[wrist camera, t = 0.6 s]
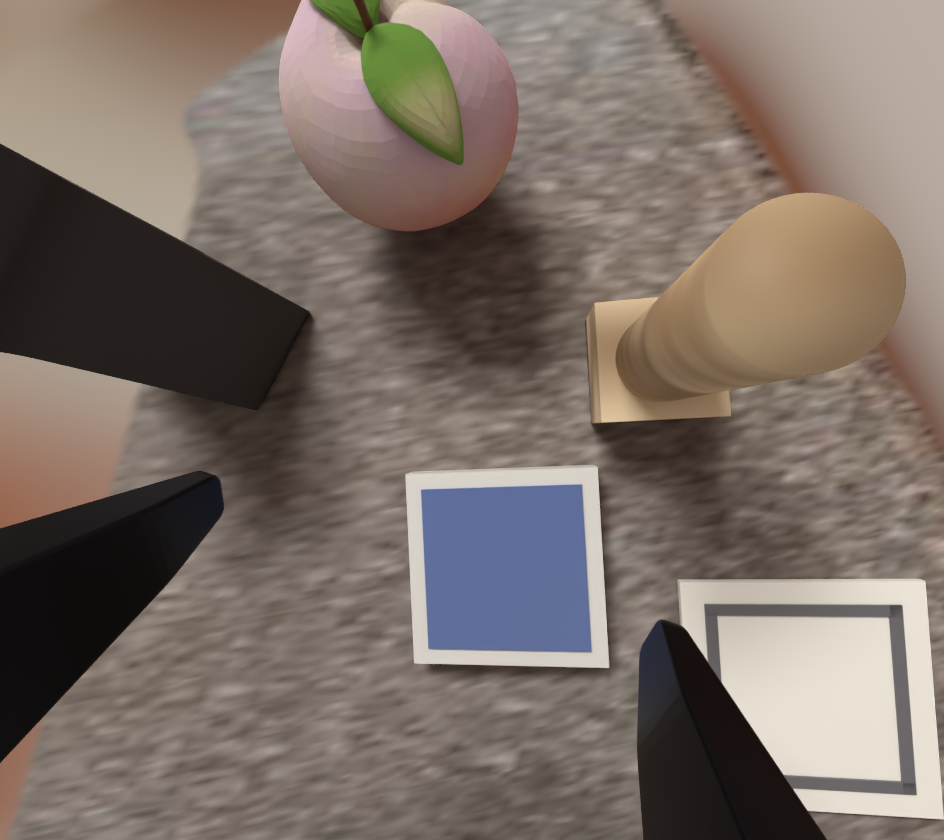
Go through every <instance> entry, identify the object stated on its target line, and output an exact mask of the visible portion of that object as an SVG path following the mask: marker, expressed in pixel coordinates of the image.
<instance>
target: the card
mask: <svg viewBox="0 0 944 840" xmlns="http://www.w3.org/2000/svg"><path fill="white" fill-rule="evenodd" d="M677 582H678V598H679V614H680V625H681V626H683V627H684V628H685V629H686V630H687V631H688V633H689V634H690V636H691V637H692V639H693V640H694V642H695V643H696V645H697V646H698V648H699V649H700V651H701V652H702V654H703V655H704V657H705V658H706V660H707V661H708V663H709V664H710V666H711V667H712V669H713V670H714V672H715V673H716V675H717V676H718V678H719V679H720V681H721V682H722V684H723V685H724V687H725V688H726V690H727V691H728V692H729V694H730V695H731V697H732V698H733V700H734V701H735V703H736V704H737V706H738V707H739V709H740V710H741V712H742V713H743V715H744V716H745V718H746V719H747V721H748V722H749V724H750V725H751V727H752V728H753V730H754V731H755V733H756V734H757V736H758V737H759V739H760V740H761V742H762V743H763V745H764V746H765V748H766V749H767V751H768V752H769V754H770V755H771V757H772V758H773V760H774V761H775V763H776V764H777V766H778V767H779V769H780V770H781V772H782V773H783V775H784V776H785V778H786V779H787V781H788V782H789V784H790V785H791V787H792V788H793V790H794V791H795V793H796V794H797V796H798V797H799V799H800V800H801V802H802V803H803V804H804V806H805V807H806V809H807V810H808V811H818V812H834V813H850V814H866V815H882V816H898V817H913V818H929V819H944V816H943V803H942V791H941V778H940V765H939V752H938V739H937V726H936V713H935V700H934V687H933V675H932V662H931V649H930V636H929V623H928V610H927V597H926V584H925V581H923V580H921V579H683V580H677Z"/></svg>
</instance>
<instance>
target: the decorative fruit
mask: <svg viewBox="0 0 944 840" xmlns="http://www.w3.org/2000/svg"><path fill="white" fill-rule="evenodd" d="M279 90H280V100H281V106H282V112H283V116H284V119H285V123H286V127H287V130H288V133H289V136H290V138H291V141H292V143H293V145H294V147H295V150H296V151H297V153H298V155H299V157H300V159H301V161H302V162H303V164H304V166H305V167H306V169H307V171H308V172H309V173H310V175H311V176H312V177H313V179H314V180H315V181H316V182H317V184H318V185H319V186H320V187H321V188H322V189H323V190H324V192H325V193H326V194H327V195H328V196H329V197H330V198H331V199H332V200H333V201H334V202H335V203H337V204H338V205H339V206H340V207H341V208H342V209H344V210H345V211H346V212H348V213H349V214H351V215H352V216H354V217H356V218H357V219H359V220H361V221H363V222H365V223H368V224H371V225H374V226H377V227H380V228H385V229H390V230H397V231H419V230H425V229H429V228H434V227H437V226H441V225H444V224H446V223H449V222H451V221H454V220H456V219H458V218H460V217H462V216H463V215H465V214H467V213H468V212H470V211H471V210H473V209H474V208H476V207H477V206H478V205H479V204H481V203H482V202H483V201H484V200H485V199H486V198H487V196H488V195H489V194H490V193H491V192H492V190H493V189H494V188H495V186H496V185H497V183H498V182H499V180H500V179H501V177H502V175H503V173H504V171H505V169H506V167H507V165H508V162H509V160H510V157H511V154H512V151H513V147H514V142H515V137H516V133H517V124H518V108H519V107H518V99H517V91H516V83H515V80H514V77H513V75H512V72H511V69H510V67H509V64H508V61H507V59H506V58H505V56H504V54H503V53H502V51H501V49H500V48H499V46H498V44H497V43H496V41H495V40H494V39H493V38H492V36H491V35H490V34H489V33H488V32H487V31H486V30H485V29H484V28H483V27H482V26H481V25H480V24H479V23H478V22H477V21H476V20H475V19H473V18H472V17H470V16H469V15H468V14H466V13H464V12H462V11H460V10H458V9H456V8H453V7H450V6H449V5H448V3H447V1H446V0H302V1H301V3H300V5H299V8H298V10H297V13H296V15H295V17H294V20H293V22H292V25H291V27H290V30H289V32H288V35H287V38H286V41H285V44H284V47H283V51H282V55H281V60H280V69H279Z"/></svg>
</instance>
